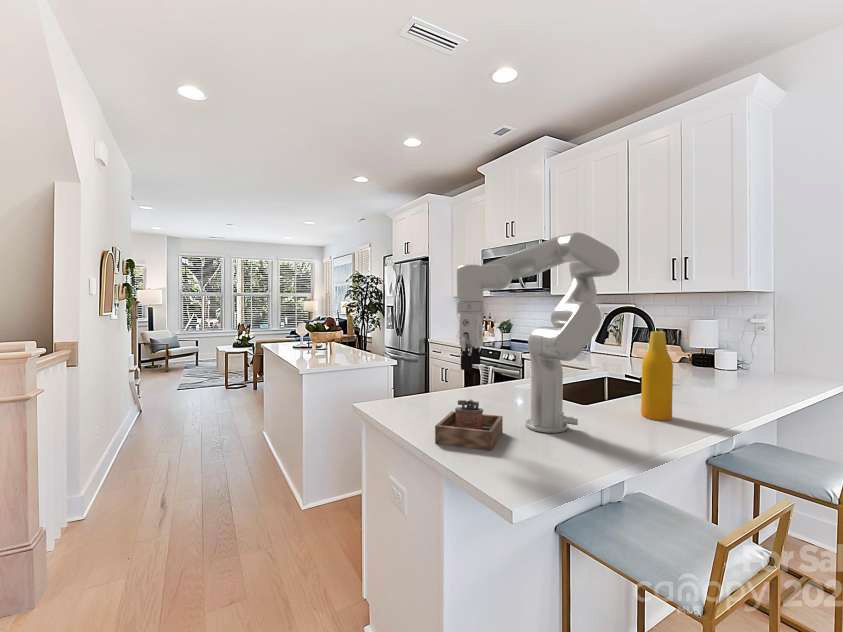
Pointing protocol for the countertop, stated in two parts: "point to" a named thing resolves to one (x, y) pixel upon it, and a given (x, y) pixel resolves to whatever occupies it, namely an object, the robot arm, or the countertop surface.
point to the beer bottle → (657, 380)
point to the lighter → (469, 415)
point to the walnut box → (469, 432)
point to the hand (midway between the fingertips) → (470, 366)
